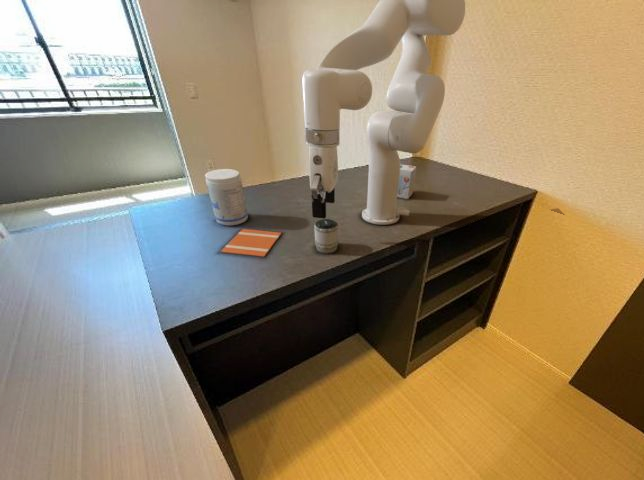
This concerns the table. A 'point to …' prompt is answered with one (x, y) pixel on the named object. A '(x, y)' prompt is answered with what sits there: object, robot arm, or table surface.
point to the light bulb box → (406, 181)
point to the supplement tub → (227, 196)
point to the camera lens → (326, 235)
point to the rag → (251, 242)
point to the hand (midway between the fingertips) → (324, 209)
